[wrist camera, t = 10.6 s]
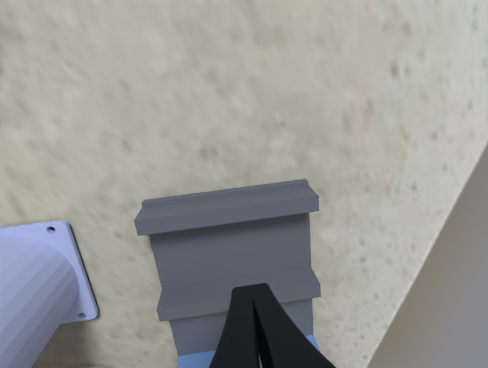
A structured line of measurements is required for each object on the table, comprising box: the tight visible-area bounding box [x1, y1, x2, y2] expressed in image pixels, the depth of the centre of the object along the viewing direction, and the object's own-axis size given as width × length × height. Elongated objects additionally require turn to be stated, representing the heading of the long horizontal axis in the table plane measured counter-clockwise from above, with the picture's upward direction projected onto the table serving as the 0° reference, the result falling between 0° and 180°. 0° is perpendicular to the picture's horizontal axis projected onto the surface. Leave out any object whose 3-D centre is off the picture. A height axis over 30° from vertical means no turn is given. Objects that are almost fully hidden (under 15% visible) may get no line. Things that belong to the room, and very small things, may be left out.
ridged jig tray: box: [134, 179, 321, 368], centre depth 22 cm, size 11×21×3 cm, turn 6°
